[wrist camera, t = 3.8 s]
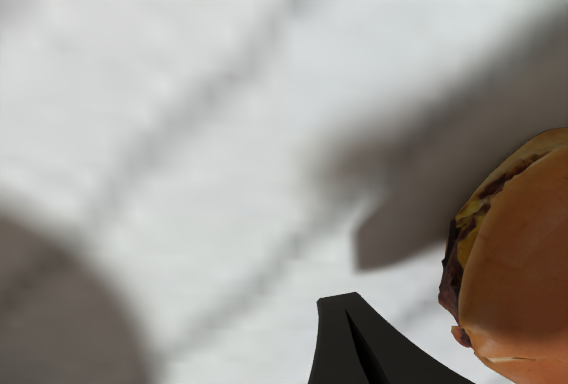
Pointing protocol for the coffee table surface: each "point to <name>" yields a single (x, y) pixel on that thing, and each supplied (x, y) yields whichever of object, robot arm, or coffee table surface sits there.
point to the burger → (514, 265)
